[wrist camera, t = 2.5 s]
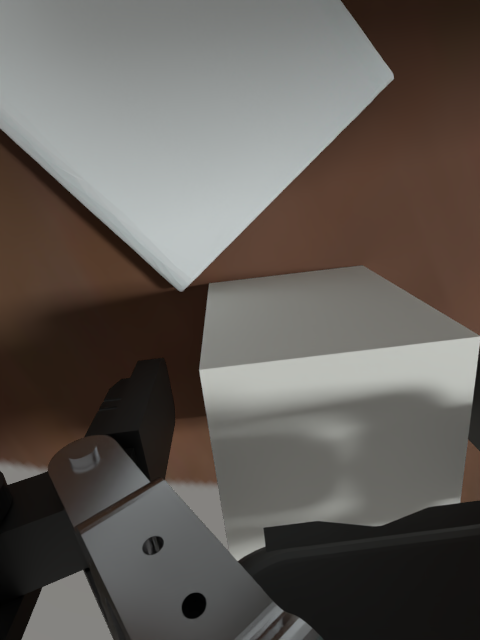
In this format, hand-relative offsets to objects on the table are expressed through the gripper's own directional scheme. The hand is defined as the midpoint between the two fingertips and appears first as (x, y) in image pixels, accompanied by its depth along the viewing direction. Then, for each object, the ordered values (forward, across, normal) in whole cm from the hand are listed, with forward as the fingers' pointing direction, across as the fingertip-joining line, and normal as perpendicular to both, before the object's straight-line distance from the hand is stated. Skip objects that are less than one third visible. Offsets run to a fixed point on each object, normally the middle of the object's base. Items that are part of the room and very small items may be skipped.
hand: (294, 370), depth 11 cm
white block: (+2, 0, 0) cm, 2 cm away
